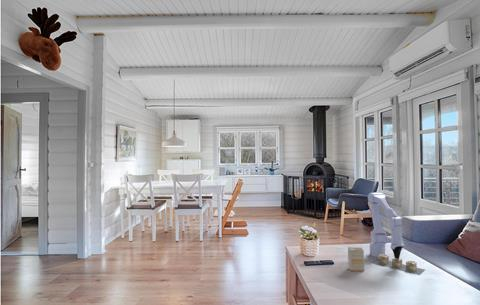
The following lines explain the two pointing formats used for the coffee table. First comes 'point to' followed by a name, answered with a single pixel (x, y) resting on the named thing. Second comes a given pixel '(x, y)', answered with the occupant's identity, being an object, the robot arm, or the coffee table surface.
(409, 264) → the three pip block
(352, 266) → the supplement box
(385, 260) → the two pip block
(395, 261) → the plain block
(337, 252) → the coffee table surface
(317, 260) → the coffee table surface
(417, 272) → the slate mat
